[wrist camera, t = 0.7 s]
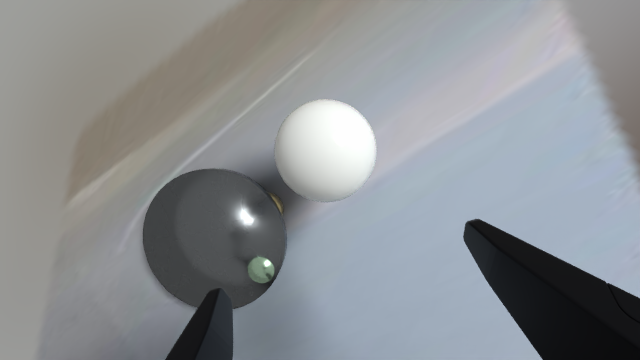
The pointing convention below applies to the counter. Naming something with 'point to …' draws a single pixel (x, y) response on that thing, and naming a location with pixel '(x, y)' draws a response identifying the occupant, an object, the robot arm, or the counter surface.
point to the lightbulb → (325, 150)
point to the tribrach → (215, 236)
